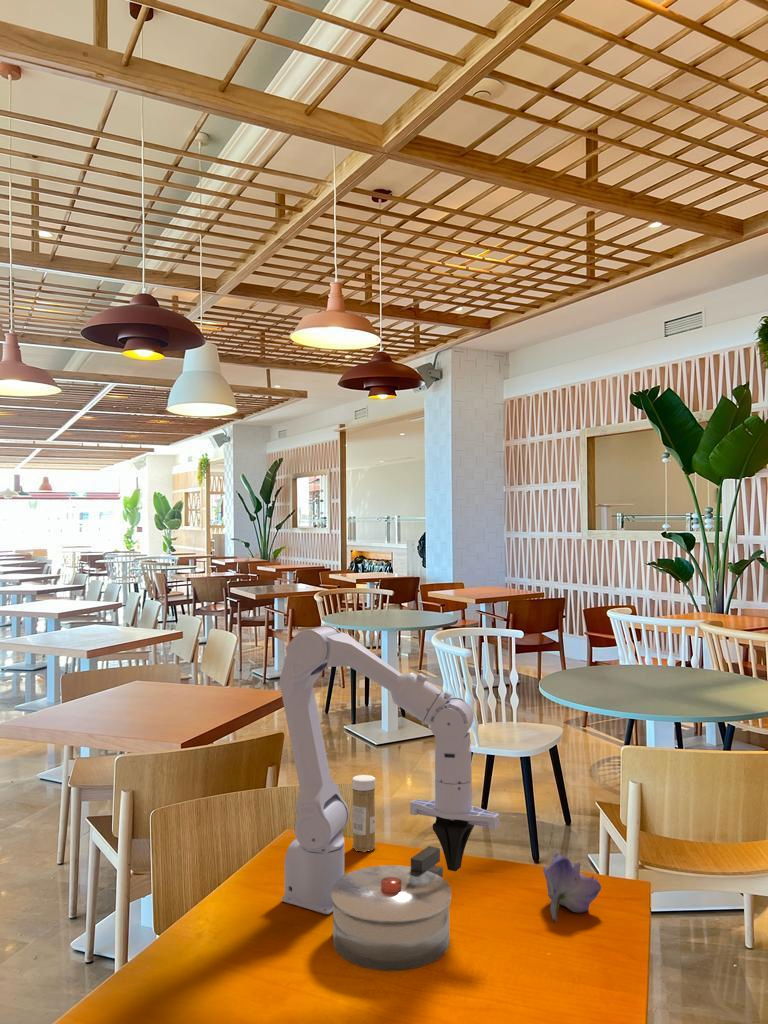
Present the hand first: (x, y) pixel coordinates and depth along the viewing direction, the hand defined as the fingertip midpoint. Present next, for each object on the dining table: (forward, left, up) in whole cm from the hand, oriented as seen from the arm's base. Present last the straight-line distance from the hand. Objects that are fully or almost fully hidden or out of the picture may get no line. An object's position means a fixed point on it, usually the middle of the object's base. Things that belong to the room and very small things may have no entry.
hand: (454, 868), depth 116 cm
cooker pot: (-5, -8, -8) cm, 12 cm away
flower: (+14, +11, -8) cm, 20 cm away
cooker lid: (-5, -8, -1) cm, 10 cm away
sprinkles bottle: (-27, +16, -8) cm, 33 cm away
